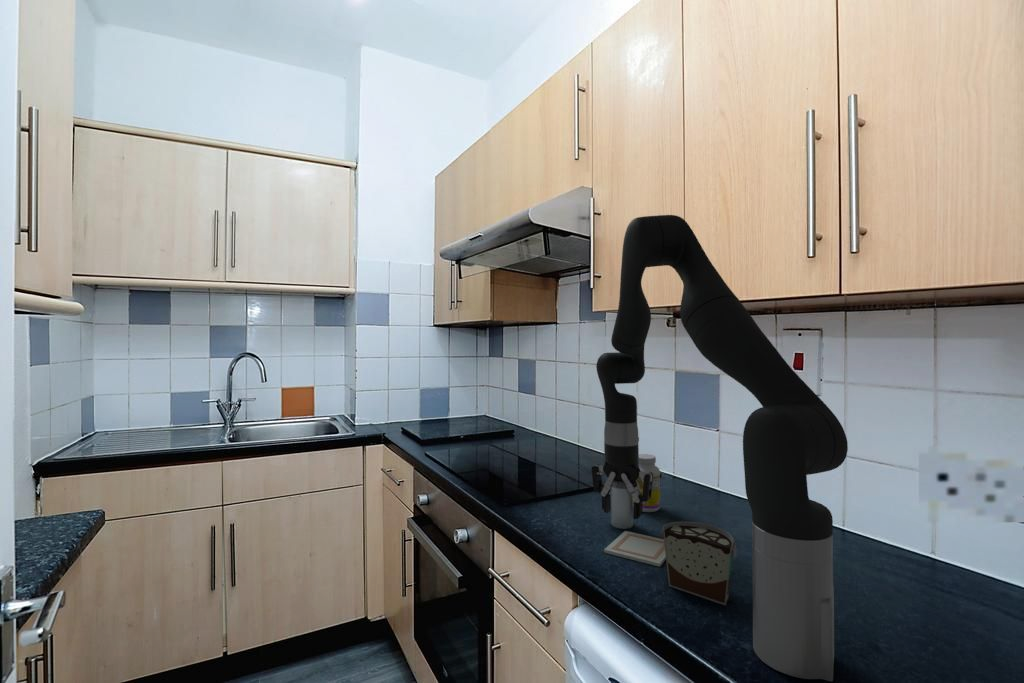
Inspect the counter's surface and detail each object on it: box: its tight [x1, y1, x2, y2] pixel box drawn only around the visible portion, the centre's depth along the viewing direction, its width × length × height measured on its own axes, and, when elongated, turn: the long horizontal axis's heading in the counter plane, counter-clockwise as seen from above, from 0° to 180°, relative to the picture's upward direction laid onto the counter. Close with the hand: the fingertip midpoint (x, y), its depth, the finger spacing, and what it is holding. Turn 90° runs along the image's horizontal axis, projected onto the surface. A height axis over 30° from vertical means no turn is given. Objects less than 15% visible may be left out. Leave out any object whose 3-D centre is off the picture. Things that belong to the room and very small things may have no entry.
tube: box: [610, 481, 634, 530], centre depth 111 cm, size 5×5×10 cm
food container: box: [659, 521, 738, 606], centre depth 83 cm, size 12×6×10 cm, turn 48°
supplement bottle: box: [633, 453, 661, 513], centre depth 121 cm, size 7×7×13 cm
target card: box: [603, 530, 666, 568], centre depth 98 cm, size 11×11×1 cm
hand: (622, 514), depth 111 cm, fingers open, 6 cm apart
